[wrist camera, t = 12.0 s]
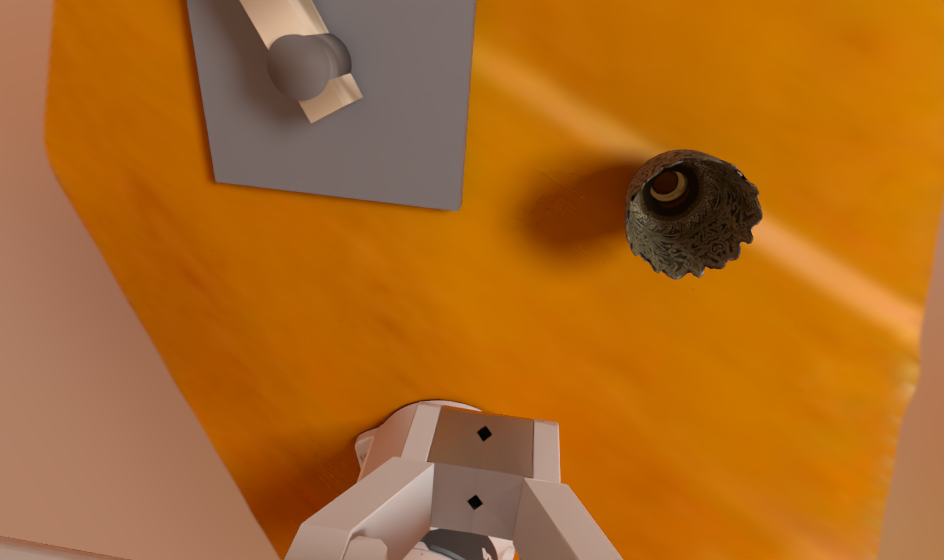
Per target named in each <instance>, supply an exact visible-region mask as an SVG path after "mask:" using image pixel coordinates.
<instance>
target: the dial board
mask: <svg viewBox="0 0 944 560" xmlns="http://www.w3.org/2000/svg"><path fill="white" fill-rule="evenodd" d="M186 1H187V7H188V13H189V19H190V26H191V32H192V38H193V44H194V51H195V57H196V63H197V69H198V76H199V82H200V88H201V94H202V100H203V107H204V113H205V119H206V125H207V132H208V138H209V144H210V150H211V157H212V163H213V169H214V175H215V181H216V182H221V183H229V184H237V185H246V186H254V187H262V188H270V189H278V190H287V191H295V192H303V193H311V194H320V195H328V196H336V197H344V198H353V199H361V200H369V201H377V202H386V203H394V204H402V205H410V206H418V207H427V208H435V209H443V210H451V211H459V209H460V207H461V204H462V190H463V176H464V162H465V149H466V135H467V121H468V108H469V94H470V80H471V66H472V53H473V39H474V25H475V12H476V0H312V1H313V3H314V5H315V7H316V9H317V11H318V13H319V15H320V16H321V18H322V20H323V22H324V24H325V26H326V28H327V30H328V32H329V33H331V34H333V35H335V36H336V37H338V38H339V39H340V40H341V41H342V42H343V43H344V44H345V46H346V47H347V49H348V51H349V53H350V56H351V62H352V69H351V75H352V77H353V79H354V80H355V82H356V84H357V86H358V88H359V90H360V92H361V94H362V96H363V97H362V98H361V99H359V100H357V101H355V102H353V103H351V104H349V105H347V106H345V107H344V108H342V109H340V110H338V111H336V112H334V113H332V114H330V115H328V116H326V117H324V118H322V119H319V120H317V121H315V122H313V123H311V122H310V121H309V119H308V117H307V115H306V114H305V112H304V110H303V109H302V107H301V105H300V103H299V102H298V100H294V99H291V98H289V97H287V96H285V95H283V94H282V93H281V92H280V91H279V90H278V89H277V88H276V87H275V85H274V84H273V82H272V81H271V79H270V76H269V74H268V70H267V54H268V51H269V50H268V48H267V47H266V45H265V43H264V42H263V40H262V38H261V36H260V35H259V33H258V31H257V30H256V28H255V26H254V24H253V23H252V21H251V19H250V17H249V16H248V14H247V12H246V11H245V9H244V7H243V5H242V4H241V2H240V0H186Z"/></svg>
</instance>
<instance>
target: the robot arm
mask: <svg viewBox="0 0 944 560" xmlns="http://www.w3.org/2000/svg"><path fill="white" fill-rule="evenodd" d="M355 451H356V454H357V458H358V461H359V465H360V468H361V472H360V474H359V477H358V480H357V483H356V484H355V485H353V486H352V487H350V488H349V489H348V490H346V491H345V492H344V493H342V494H341V495H340V496H338V497H337V498H335V499H334V500H333V501H331V502H330V503H329V504H327V505H326V506H325V507H323V508H322V509H321V510H319V511H318V512H316V513H315V514H314V515H312V516H311V517H310V518H308V519H307V520H306V521H304V522H303V523H302V524H301V526H300V528H299V530H298V532H297V534H296V536H295V538H294V540H293V542H292V544H291V546H290V548H289V551H288V553H287V555H286V557H285V559H284V560H513V557H514V551H515V550H516V552H517V554H518V556H519V558H520V560H623V559H622V557H621V556H620V554H619V553H618V552H617V550H616V549H615V548H614V546H613V545H612V544H611V542H610V541H609V540H608V538H607V537H606V536H605V534H604V533H603V532H602V530H601V529H600V528H599V526H598V525H597V523H596V522H595V521H594V519H593V518H592V517H591V515H590V514H589V513H588V511H587V510H586V509H585V507H584V506H583V505H582V503H581V502H580V501H579V499H578V498H577V497H576V495H575V494H574V492H573V491H572V490H571V488H570V487H569V486H568V485H567V484H562V483H560V453H559V425H558V423H557V422H554V421H547V420H539V419H534V420H533V419H530V418H523V417H516V416H509V415H502V414H495V413H487V412H483V411H481V410H479V409H476V408H474V407H471V406H468V405H465V404H461V403H457V402H451V401H424V402H422V401H420V402H419V403H415V404H411V405H409V406H406V407H404V408H402V409H400V410H398V411H397V412H395V413H394V414H393V415H392V416H390V417H389V418H388V419H387V420H386V421H385V422H384V423H383V424H382V425H381V426H380V427H378V428H375V429H372V430H369V431H366V432H364V433H362V434H360V435H359V436H358V437H357V440H356V443H355ZM0 560H129V559H124V558H118V557H112V556H107V555H102V554H96V553H91V552H85V551H80V550H75V549H69V548H64V547H58V546H52V545H47V544H42V543H37V542H31V541H25V540H20V539H15V538H9V537H4V536H0Z"/></svg>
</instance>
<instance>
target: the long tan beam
mask: <svg viewBox="0 0 944 560" xmlns="http://www.w3.org/2000/svg"><path fill="white" fill-rule="evenodd" d="M240 2H241V4H242V5H243V7H244V9H245V11H246V12H247V14H248V16H249V17H250V19H251V21H252V23H253V24H254V26H255V28H256V30H257V31H258V33H259V35H260V36H261V38H262V40H263V42H264V43H265V45H266V47H267V48H268V50H269V51H268V54H267V70H268V74H269V76H270V79H271V81H272V82H273V84H274V85H275V87H276V88H277V89H278V90H279V91H280V92H281V93H282V94H283V95H285V96H287V97H289V98H291V99H294V100H298V102H299V103H300V105H301V107H302V109H303V110H304V112H305V114H306V115H307V117H308V119H309V121H310V122H311V123H313V122H315V121H317V120H319V119H322V118H324V117H326V116H328V115H330V114H332V113H334V112H336V111H338V110H340V109H342V108H344V107H345V106H347V105H349V104H351V103H353V102H355V101H357V100H359V99H361V98H362V97H363V96H362V94H361V92H360V90H359V88H358V86H357V84H356V82H355V80H354V79H353V77H352V75H351V69H352V62H351V56H350V53H349V51H348V49H347V47H346V46H345V44H344V43H343V42H342V41H341V40H340V39H339V38H338V37H336V36H335V35H333V34H331V33H329V32H328V30H327V28H326V26H325V24H324V22H323V20H322V18H321V16H320V15H319V13H318V11H317V9H316V7H315V5H314V3H313V1H312V0H240Z"/></svg>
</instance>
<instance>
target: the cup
mask: <svg viewBox="0 0 944 560" xmlns="http://www.w3.org/2000/svg"><path fill="white" fill-rule="evenodd" d="M666 172H672V173H673V174H675V176H676V177H677V185H676V187H675V189H674V190H673V191H671V192H669V193H666V194H661V193H659V192H657V191H656V190H655V189H654V186H653V182H654V181H655V179H656V178H657V177H658V176H660V175H661V174H663V173H666ZM758 196H759V191H758V189H757V187H756V186H755V185H754V184H752V183H750V182H749V181H748V180H747V179H746V178H745V177H744V175H743V173H741V172H740V171H739V170H738V169H737V166H735V165H733V164H731V163H728V162H725V161H723V160H721V159H718V158H716V157H713V156H711V155H708V154H706V153H703V152H699V151H694V150H673V151H668V152H665V153H662V154H659V155H657V156H655V157H653V158H652V159H650V160H649V161H647V162H646V163H645V164H644V165H643V166H642V167H641V168H640V169H639V170H638V171H637V172H636V174H635V175H634V177H633V178H632V180H631V182H630V184H629V187H628V190H627V193H626V199H625V231H626V237H627V240H628V243H629V244H630V247H631V251H632V253H633V254H634V255H635V256H636V257H637V255H640V256H641V257H642V258H643V260H644V261H647V262H649V263H650V265H651V266H652V268H653V270H654V271H655V272H657V273H660V272H661V271H662V272H664V273H665V274H666V275H667V276H669V277H670V278H672V279H680V278H682V277H683V276H684V275H685V274H687V273H692V274H693V275H694V276H696V277H698V278H700V277H702V276H703V274H704V272H705V271H704V269H705V266H706V267H708V268H710V269H713V268H715V269H723V268H724V267H725V266H726V262H727V261H732V260H737V259H738V258H739V256H740V250H741V247H740V242H746V243H747V244H751V243H752V241H753V235H752V233H751V229H752V228H753V226H755V225H757V224H758V223H759V222H760V221H761V219H762V210H761V206H760V204H759V201H758V199H757V197H758Z"/></svg>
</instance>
